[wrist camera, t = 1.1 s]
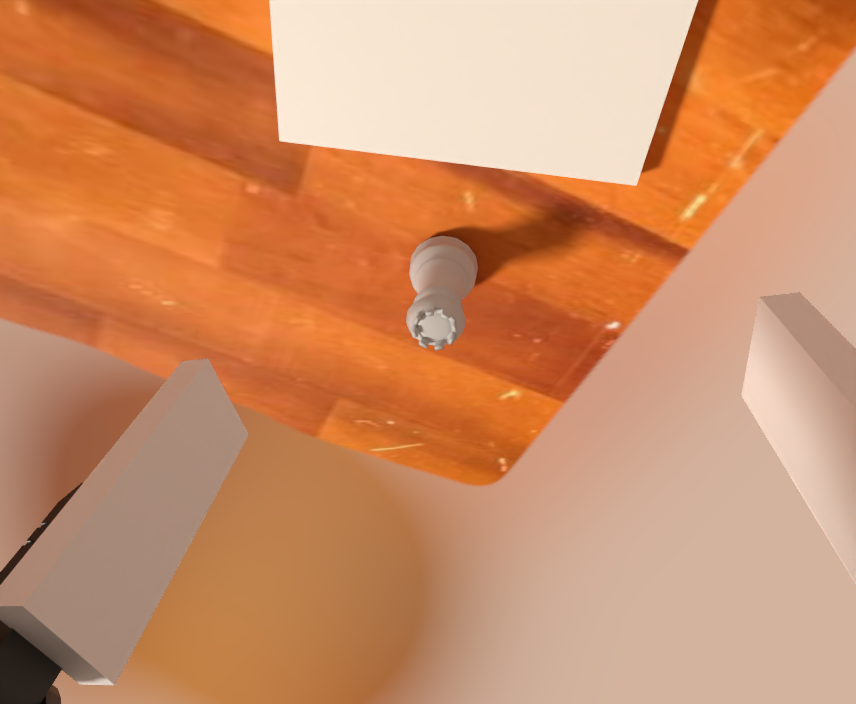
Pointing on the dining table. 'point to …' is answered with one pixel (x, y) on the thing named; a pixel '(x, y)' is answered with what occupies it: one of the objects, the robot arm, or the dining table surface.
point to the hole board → (480, 80)
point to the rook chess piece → (440, 290)
